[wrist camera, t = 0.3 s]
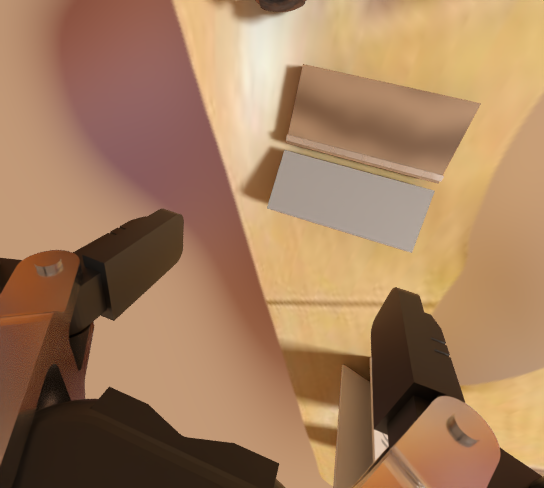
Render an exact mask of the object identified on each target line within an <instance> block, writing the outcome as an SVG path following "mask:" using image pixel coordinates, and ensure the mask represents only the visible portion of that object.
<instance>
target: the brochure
mask: <svg viewBox="0 0 544 488" xmlns="http://www.w3.org/2000/svg"><path fill="white" fill-rule="evenodd" d="M388 446H389V445H388V435H386V434H384V433H381V432H379V431H376V430H374V425H373V391H372V357H370V382H369V381H367V380H366V379H364V378H363V377H361V376H360V375H358V374H357V373H356V372H354V371H353V370H351V369H350V368H348V367H347V366H345V365H344V364H343V365H342V374H341V388H340V401H339V415H338V429H337V443H336V456H335V470H334V484H333V488H352V487H353V485H354V484H355V483H356V482H357V481H358V480H359V479H360V477H361V476H362V475H363V474H364V473H365V472H366V471H367V470H368V468H369V467H370V466H371V465H372V464H373V463H374V462H375V460H376V459H377V458H378V457H379V456H380V455H381V454H382V453H383V451H384V450H385V449H386V448H387V447H388Z"/></svg>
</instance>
